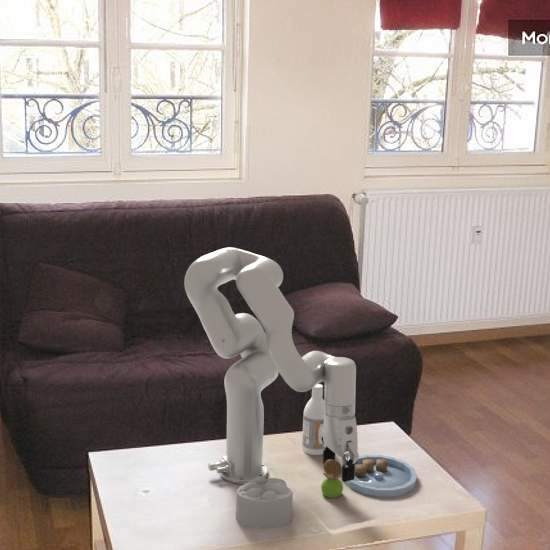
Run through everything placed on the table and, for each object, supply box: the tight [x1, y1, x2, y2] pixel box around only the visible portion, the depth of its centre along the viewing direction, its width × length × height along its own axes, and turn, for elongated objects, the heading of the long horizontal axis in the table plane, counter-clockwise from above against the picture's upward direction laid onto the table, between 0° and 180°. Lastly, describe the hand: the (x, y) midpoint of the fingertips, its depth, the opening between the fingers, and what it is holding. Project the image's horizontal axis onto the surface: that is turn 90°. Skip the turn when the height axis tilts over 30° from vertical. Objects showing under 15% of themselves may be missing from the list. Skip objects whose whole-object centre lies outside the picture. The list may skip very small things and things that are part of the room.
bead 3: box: [376, 459, 388, 473], centre depth 234 cm, size 3×3×2 cm
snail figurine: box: [320, 457, 349, 499], centre depth 220 cm, size 5×6×12 cm
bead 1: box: [355, 464, 367, 478], centre depth 231 cm, size 3×3×2 cm
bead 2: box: [363, 459, 374, 473], centre depth 234 cm, size 3×3×2 cm
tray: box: [343, 454, 418, 498], centre depth 230 cm, size 19×19×3 cm
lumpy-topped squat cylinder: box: [235, 476, 294, 529], centre depth 211 cm, size 10×13×9 cm
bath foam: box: [301, 383, 325, 456], centre depth 243 cm, size 7×7×20 cm
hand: (338, 472), depth 219 cm, fingers open, 9 cm apart
